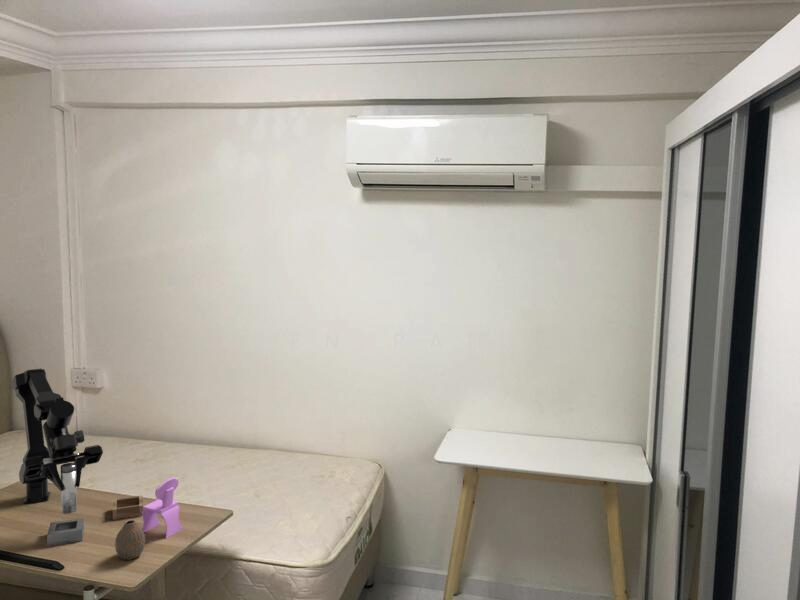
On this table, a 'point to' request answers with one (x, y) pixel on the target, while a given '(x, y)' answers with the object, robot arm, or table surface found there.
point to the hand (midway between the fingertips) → (70, 488)
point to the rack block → (127, 507)
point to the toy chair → (163, 508)
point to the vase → (130, 541)
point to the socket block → (65, 531)
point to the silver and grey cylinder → (68, 488)
